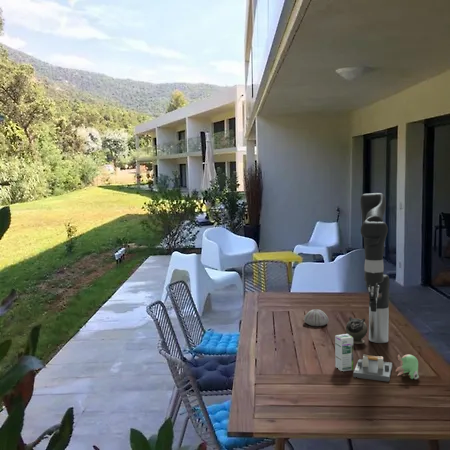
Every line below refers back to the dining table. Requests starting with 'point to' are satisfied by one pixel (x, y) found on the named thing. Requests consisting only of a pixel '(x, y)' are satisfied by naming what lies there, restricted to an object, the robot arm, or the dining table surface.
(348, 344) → the syrup box
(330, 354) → the dining table surface
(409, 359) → the frog
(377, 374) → the breaker panel
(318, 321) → the sea urchin shell
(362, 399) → the dining table surface
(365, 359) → the breaker paddles
